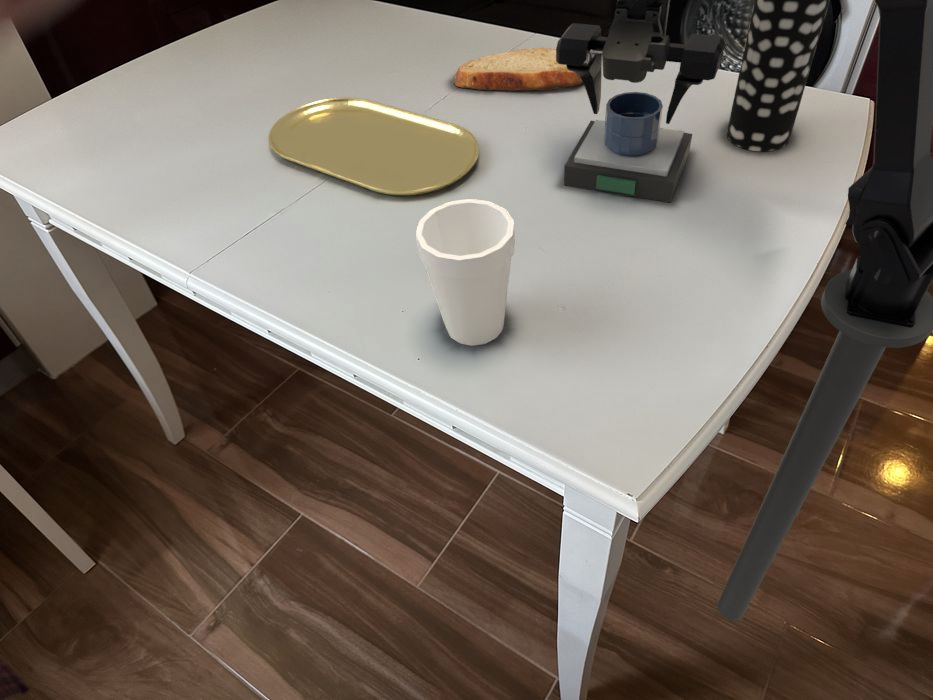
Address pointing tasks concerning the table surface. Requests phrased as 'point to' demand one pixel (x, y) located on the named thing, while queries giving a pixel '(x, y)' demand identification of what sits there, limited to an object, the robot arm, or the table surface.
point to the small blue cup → (632, 123)
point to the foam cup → (468, 266)
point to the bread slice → (516, 71)
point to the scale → (628, 165)
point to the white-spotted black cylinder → (774, 71)
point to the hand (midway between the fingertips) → (631, 117)
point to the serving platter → (375, 145)
